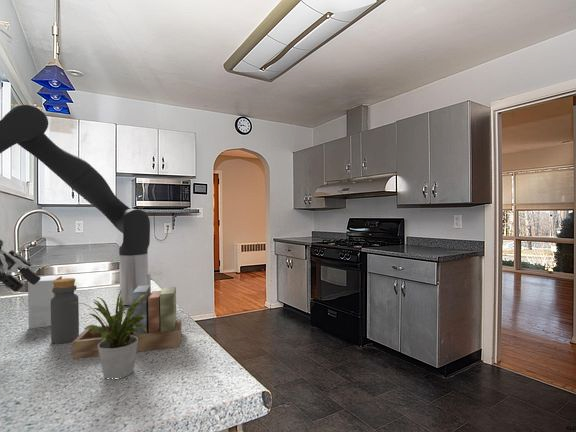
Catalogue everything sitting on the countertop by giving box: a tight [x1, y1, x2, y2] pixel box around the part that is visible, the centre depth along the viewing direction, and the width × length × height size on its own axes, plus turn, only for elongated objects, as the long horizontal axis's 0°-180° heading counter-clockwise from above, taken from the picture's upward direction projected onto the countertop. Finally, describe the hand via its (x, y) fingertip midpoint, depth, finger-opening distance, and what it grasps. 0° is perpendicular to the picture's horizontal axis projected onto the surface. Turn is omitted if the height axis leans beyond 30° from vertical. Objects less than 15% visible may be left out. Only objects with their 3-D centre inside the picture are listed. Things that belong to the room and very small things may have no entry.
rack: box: [71, 285, 182, 359], centre depth 81 cm, size 22×10×13 cm, turn 105°
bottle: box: [50, 278, 80, 345], centre depth 85 cm, size 6×6×15 cm
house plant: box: [73, 290, 149, 379], centre depth 65 cm, size 14×14×16 cm
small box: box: [27, 275, 63, 329], centre depth 98 cm, size 8×6×13 cm
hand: (29, 285), depth 82 cm, fingers open, 8 cm apart
